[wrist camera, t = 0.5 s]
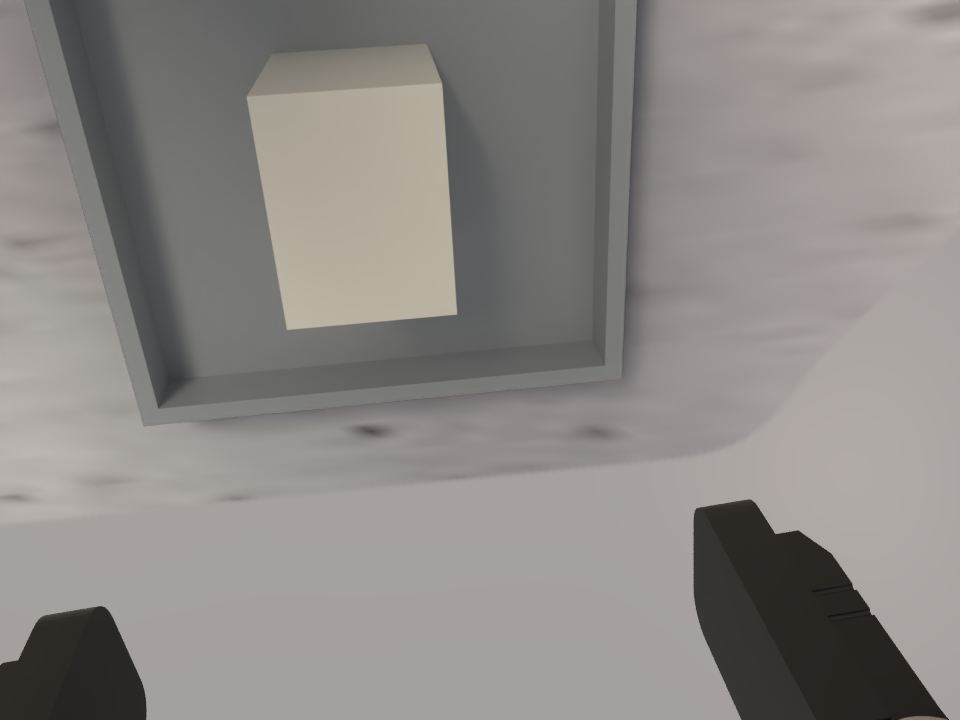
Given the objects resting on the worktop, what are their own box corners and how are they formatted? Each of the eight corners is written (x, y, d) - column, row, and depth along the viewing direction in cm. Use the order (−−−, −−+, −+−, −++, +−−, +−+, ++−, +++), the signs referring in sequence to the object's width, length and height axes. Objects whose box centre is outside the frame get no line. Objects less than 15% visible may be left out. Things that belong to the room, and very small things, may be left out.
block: (271, 53, 25) (246, 96, 20) (426, 43, 25) (441, 83, 20) (302, 247, 28) (286, 329, 22) (440, 236, 28) (457, 314, 23)
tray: (22, -135, 22) (-15, -138, 20) (618, -164, 24) (643, -169, 22) (160, 387, 30) (143, 426, 28) (603, 345, 31) (621, 379, 29)
